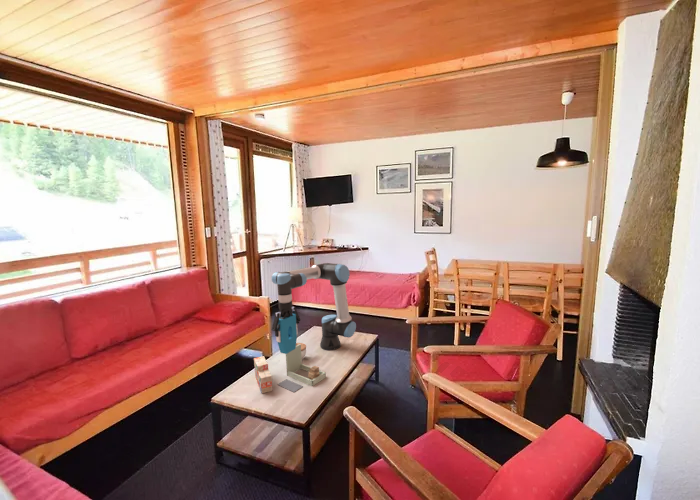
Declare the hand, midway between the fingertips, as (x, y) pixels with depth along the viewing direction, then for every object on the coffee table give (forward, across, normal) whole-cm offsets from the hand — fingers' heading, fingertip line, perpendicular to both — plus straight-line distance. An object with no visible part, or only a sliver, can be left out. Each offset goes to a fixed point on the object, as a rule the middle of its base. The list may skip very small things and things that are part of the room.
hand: (287, 337), depth 183 cm
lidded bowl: (+30, -26, -21) cm, 45 cm away
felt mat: (+29, 0, 0) cm, 29 cm away
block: (+8, 0, 0) cm, 8 cm away
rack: (+29, -13, 0) cm, 32 cm away
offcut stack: (+29, -13, +7) cm, 33 cm away
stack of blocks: (+30, +7, -16) cm, 34 cm away
